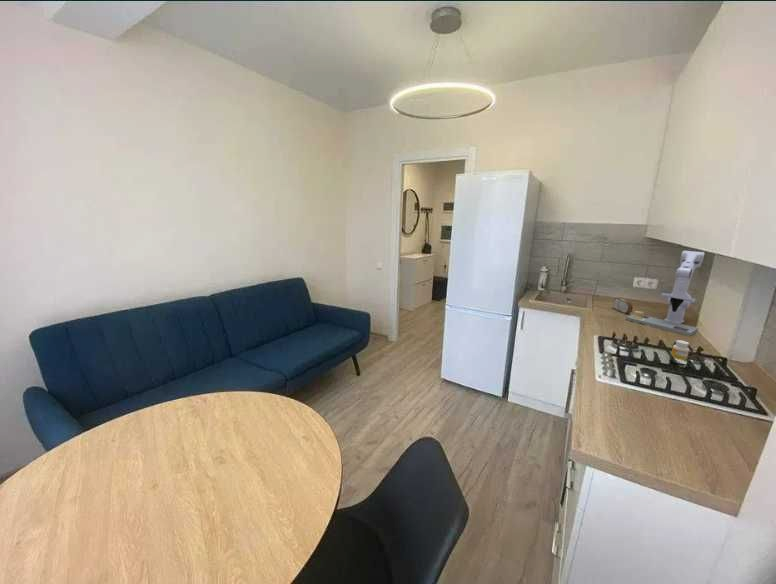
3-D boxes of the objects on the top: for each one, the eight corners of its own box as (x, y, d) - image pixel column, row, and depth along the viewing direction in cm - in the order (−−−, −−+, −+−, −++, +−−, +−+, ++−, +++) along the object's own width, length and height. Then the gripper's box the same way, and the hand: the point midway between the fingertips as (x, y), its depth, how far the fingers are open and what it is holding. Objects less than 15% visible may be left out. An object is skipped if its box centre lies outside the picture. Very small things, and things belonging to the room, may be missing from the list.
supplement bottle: (670, 358, 144) (675, 338, 142) (686, 362, 140) (692, 342, 138) (668, 361, 141) (673, 341, 138) (684, 366, 137) (690, 345, 134)
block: (634, 316, 196) (636, 310, 195) (642, 318, 193) (644, 312, 192) (632, 317, 194) (633, 311, 193) (640, 319, 191) (641, 313, 190)
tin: (631, 315, 206) (634, 302, 204) (626, 315, 206) (629, 302, 204) (616, 308, 221) (618, 296, 219) (611, 308, 221) (613, 296, 219)
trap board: (634, 316, 204) (634, 313, 203) (697, 331, 180) (698, 328, 180) (625, 320, 196) (626, 317, 195) (690, 336, 172) (691, 332, 172)
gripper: (661, 286, 184) (656, 309, 188) (695, 292, 173) (688, 315, 176) (665, 285, 188) (660, 307, 192) (698, 290, 177) (692, 313, 180)
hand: (674, 311), depth 184 cm, fingers closed
